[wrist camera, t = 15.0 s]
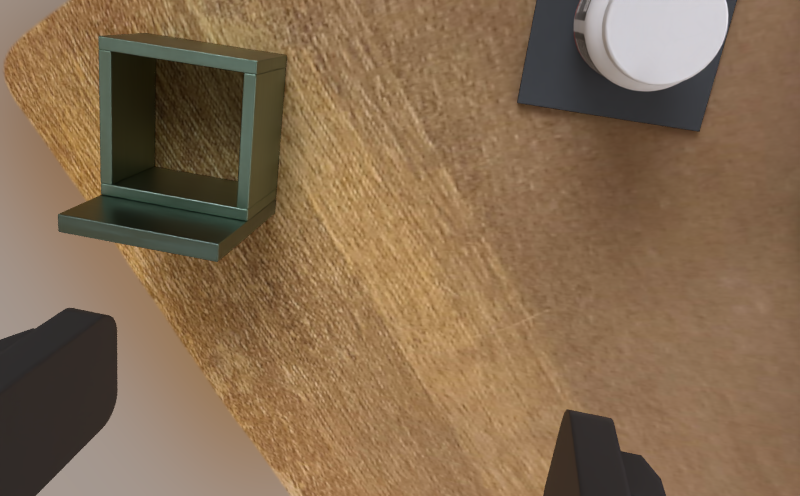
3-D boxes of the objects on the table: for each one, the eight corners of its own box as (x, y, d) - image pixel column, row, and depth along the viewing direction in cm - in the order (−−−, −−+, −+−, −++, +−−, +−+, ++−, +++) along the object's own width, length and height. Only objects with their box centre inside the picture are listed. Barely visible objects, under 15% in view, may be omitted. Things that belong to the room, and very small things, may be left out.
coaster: (554, -92, 36) (554, -94, 35) (753, -67, 35) (756, -67, 34) (517, 102, 39) (517, 102, 39) (697, 130, 38) (699, 131, 38)
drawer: (145, 32, 41) (50, 38, 33) (287, 55, 40) (226, 67, 32) (144, 190, 45) (58, 232, 36) (275, 214, 44) (217, 262, 35)
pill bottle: (683, 73, 37) (739, 94, 28) (574, 83, 38) (593, 108, 29) (685, -43, 35) (746, -61, 26) (570, -28, 36) (589, -41, 27)
